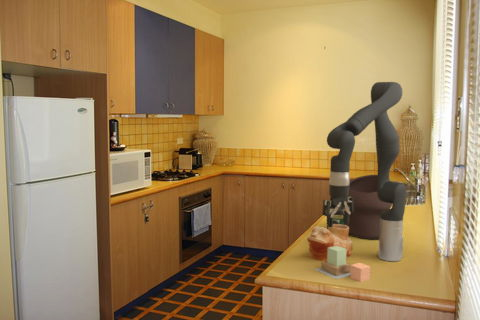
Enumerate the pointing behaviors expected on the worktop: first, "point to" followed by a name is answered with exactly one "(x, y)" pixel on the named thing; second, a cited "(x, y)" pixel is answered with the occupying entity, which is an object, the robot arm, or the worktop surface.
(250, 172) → the worktop surface
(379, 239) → the robot arm
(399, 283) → the worktop surface
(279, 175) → the worktop surface
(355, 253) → the worktop surface
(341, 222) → the coffee jar
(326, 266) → the walnut base
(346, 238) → the ceramic vessel
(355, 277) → the terracotta block
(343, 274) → the board
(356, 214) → the vase
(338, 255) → the sage block
